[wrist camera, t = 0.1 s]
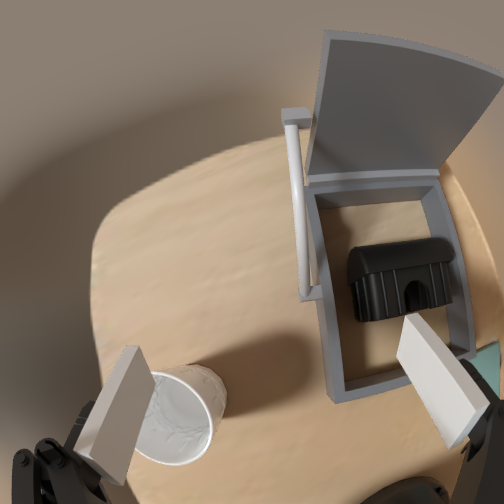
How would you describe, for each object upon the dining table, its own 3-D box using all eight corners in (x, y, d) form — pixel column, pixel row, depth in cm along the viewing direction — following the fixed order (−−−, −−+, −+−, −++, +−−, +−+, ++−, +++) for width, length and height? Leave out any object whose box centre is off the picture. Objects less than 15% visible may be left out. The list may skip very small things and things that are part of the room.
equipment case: (457, 355, 24) (594, 354, 5) (307, 397, 25) (371, 516, 5) (419, 181, 31) (502, 71, 11) (279, 192, 31) (281, 30, 12)
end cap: (418, 248, 29) (447, 228, 22) (428, 307, 27) (462, 300, 20) (341, 258, 29) (359, 238, 22) (351, 323, 27) (373, 321, 21)
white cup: (169, 427, 25) (128, 461, 15) (156, 361, 27) (106, 371, 18) (238, 424, 25) (222, 466, 15) (226, 354, 27) (202, 367, 17)
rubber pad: (493, 414, 21) (497, 415, 20) (446, 440, 21) (450, 443, 20) (494, 342, 24) (499, 342, 23) (448, 363, 24) (453, 363, 23)
